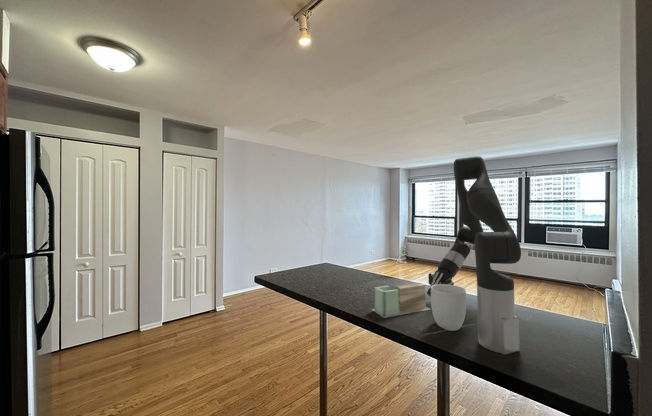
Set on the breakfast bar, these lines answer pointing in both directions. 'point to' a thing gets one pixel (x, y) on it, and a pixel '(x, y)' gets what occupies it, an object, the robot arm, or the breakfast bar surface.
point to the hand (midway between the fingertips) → (429, 295)
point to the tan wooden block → (411, 296)
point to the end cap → (386, 300)
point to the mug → (448, 306)
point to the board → (405, 311)
